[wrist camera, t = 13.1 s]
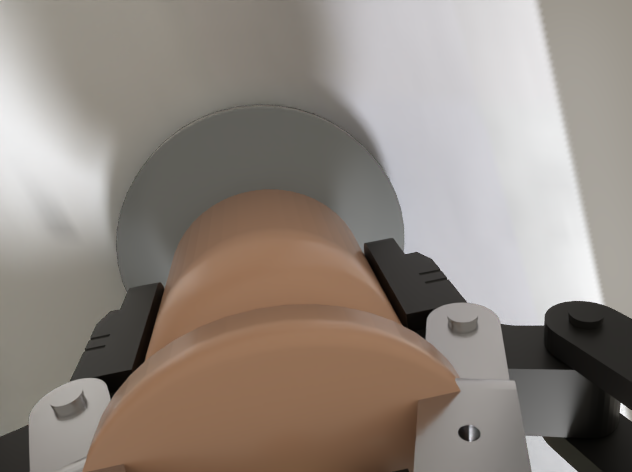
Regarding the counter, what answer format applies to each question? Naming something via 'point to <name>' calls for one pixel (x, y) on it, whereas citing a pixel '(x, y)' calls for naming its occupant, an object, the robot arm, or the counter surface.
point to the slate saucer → (249, 181)
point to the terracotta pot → (272, 354)
